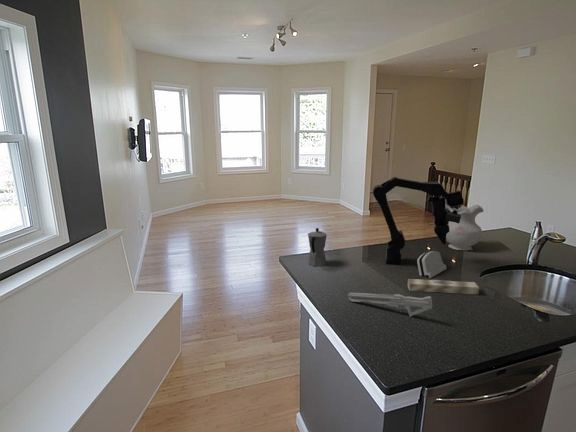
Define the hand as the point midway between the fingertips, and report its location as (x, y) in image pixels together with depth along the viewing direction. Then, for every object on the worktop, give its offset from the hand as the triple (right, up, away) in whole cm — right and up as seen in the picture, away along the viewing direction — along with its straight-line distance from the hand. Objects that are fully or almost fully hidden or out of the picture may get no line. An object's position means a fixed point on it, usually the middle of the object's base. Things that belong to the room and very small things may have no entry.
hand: (444, 240), depth 166 cm
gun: (-38, -23, -38) cm, 58 cm away
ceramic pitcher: (+20, -5, +28) cm, 35 cm away
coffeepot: (-60, -12, +7) cm, 61 cm away
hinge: (-8, -14, -3) cm, 16 cm away
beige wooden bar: (-11, -18, -23) cm, 31 cm away
